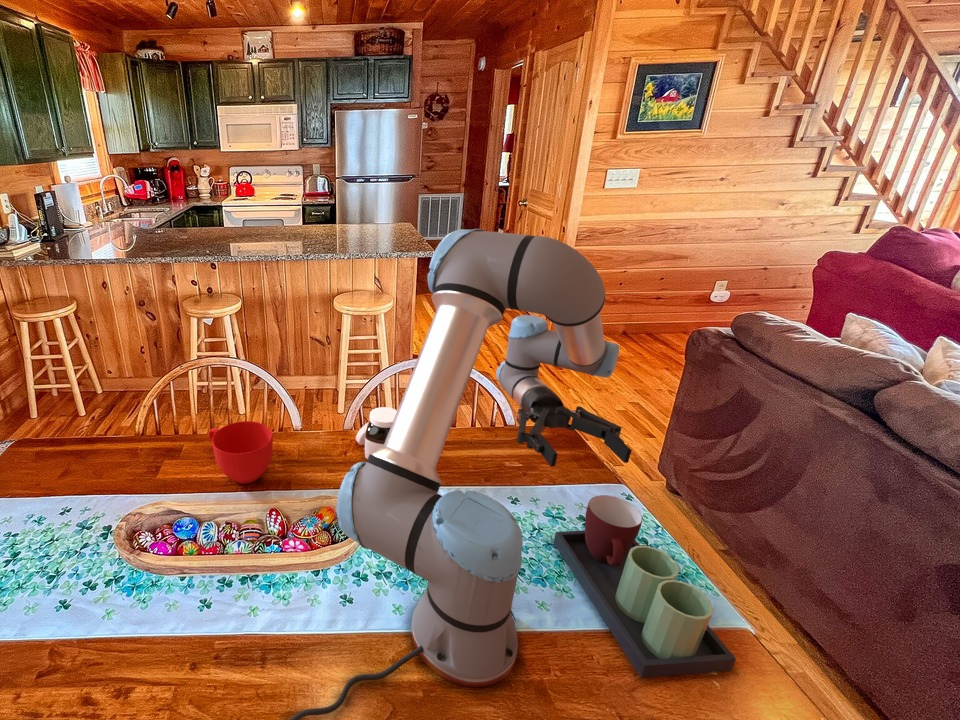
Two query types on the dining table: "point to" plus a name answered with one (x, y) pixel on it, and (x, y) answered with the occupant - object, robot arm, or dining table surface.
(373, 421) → the spread jar
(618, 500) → the mug
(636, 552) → the cup
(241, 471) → the ceramic cup
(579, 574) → the tray
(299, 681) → the dining table surface
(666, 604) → the cup
